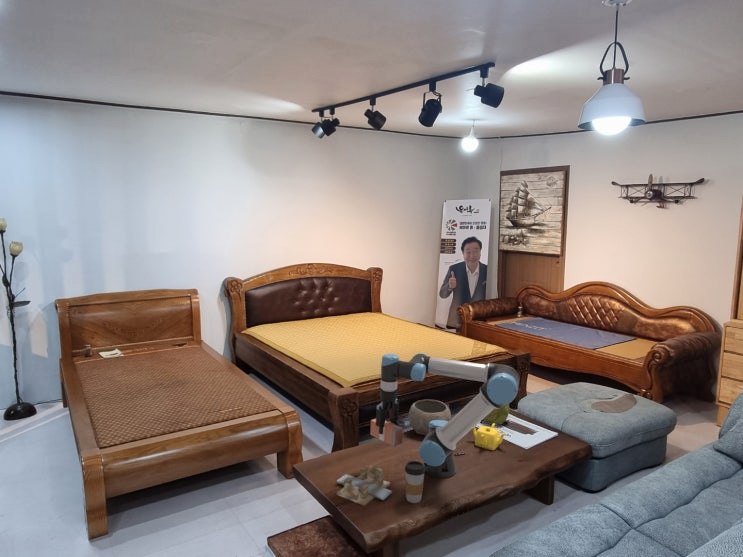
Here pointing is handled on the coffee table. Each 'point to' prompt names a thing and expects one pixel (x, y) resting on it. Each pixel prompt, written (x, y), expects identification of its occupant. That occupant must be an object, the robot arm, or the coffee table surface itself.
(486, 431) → the teapot
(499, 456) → the coffee table surface
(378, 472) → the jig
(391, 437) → the reddish-brown block
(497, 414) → the decorative sculpture
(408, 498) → the coffee cup
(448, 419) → the bowl
